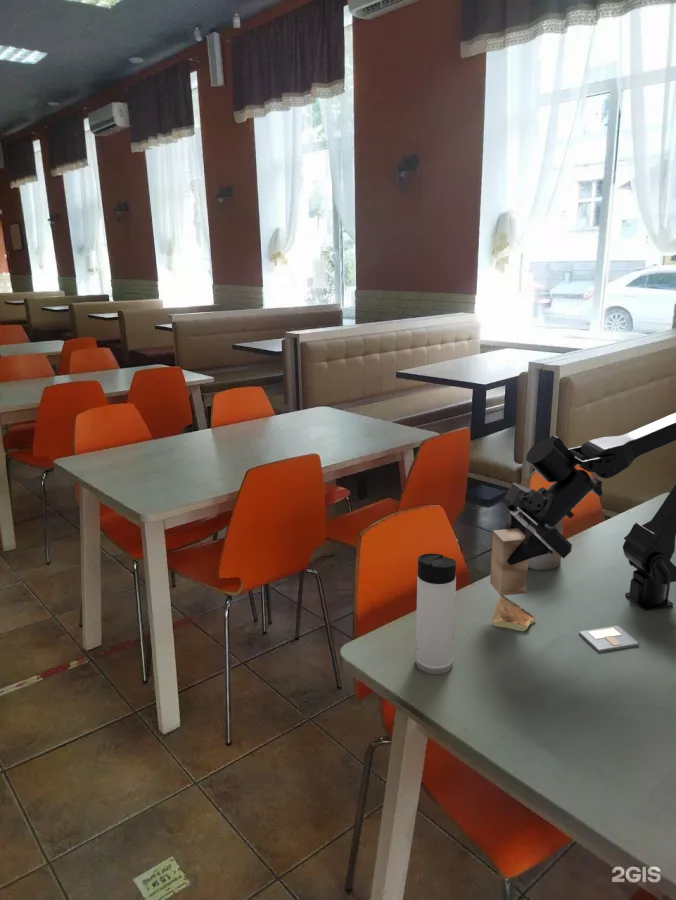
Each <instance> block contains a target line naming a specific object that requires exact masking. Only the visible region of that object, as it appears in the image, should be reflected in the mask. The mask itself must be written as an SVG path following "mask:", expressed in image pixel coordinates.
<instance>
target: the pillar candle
mask: <svg viewBox="0 0 676 900" xmlns="http://www.w3.org/2000/svg"><path fill="white" fill-rule="evenodd" d="M526 528H528V529H529V530H530V531H531V532H532V533H534V532H535V531H536V530H535V529H534V528H533V527H532V526H530V525H528V526H526ZM555 528H556V529H557V530H558V532H559V533H560V534H561V535H562V536H564V535H563V534H564V533H563V532H564V519H563V520H562V521H561V522H560V523H559V524H558V525H557V526H556V527H555ZM551 551H552V552H553V554H550V553H548V554H544V555H540V556H537V557H533V558H530V559H528V569H532V570H535V571H549V570H550V571H551V570H554V569H556V568H558V567H559V566H560V565H561V563H562V560H561V559H562V557H561V556H560V555H559V554H558V553H557V552H556V551H555V550H554V549H552V550H551Z"/></svg>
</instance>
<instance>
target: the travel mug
mask: <svg viewBox="0 0 676 900" xmlns="http://www.w3.org/2000/svg"><path fill="white" fill-rule="evenodd" d="M456 571H457V561H456V560H455V559H453V558H450V557H449V556H448V557H447V556H444V554H439V553H424V554H421V555H419V556H418V557H417V574H416V575H417V576H416V578H417V579H416V581H417V583H416V584H417V585H416V630H415V631H416V633H415V634H416V635H415V636H416V637H415V638H416V639H415V665H416V666H417V668H418V669H420V670H421V671H423V672H424V673H427V674H432V675H442V674H445V673H448V672H449V671H450V670H451V669H452V668H453V663H454V640H455V619H456V618H455V614H456V613H455V612H456V593H457V592H456V590H457V589H456V587H457V586H456V585H457V581H456V580H457V573H456Z"/></svg>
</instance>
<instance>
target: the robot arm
mask: <svg viewBox="0 0 676 900" xmlns="http://www.w3.org/2000/svg"><path fill="white" fill-rule="evenodd" d="M674 442H676V412H674V413H671V414H669V415H667V416H665V417H662V418H660V419H658V420H655V421H653V422H650V423H648V424H646V425H643V426H641V427H639V428H637V429H634V430H631V431H629V432H628V433H627V432H626V433H624V434H621V435H614V436H613V435H612V436H603V437H598V438H594V439H590V440H588V441H585V442H584V443H583V444H582V445H580V446H575V447H569V448H568V447H567V446H566V445H565V444H564V442H563V440H562V439H560V437H558V436H556V435H554V434H552V435H551V436H550V437H549V438H546V439H543V440H540V441H538V442H537V443H534V444H533V446H532V447H531V448H529V450H528V451H527V453H526V458H525V459H526V462H527V463H528V465H530V466H531V467H533V469H534V470H535V471H536V472H537V473H538V474H539V475H540V476H541V477H542V478H543V479H544V480H545V481H546V482H547V483H552V484H551V485H550V486H549V487H548V488H545V487H544V486H542V487H540V488H539V489H538V490H535V489H533V488H532V489H530V488H528V487H525V486H523V485H520V484H518V483H515V482H512V483H511V485H510V487H509V489H508V490H507V493H506V495H505V497H504V499H503V500H502V501H501V503H502V505H503V506H505V508H507V509H508V510H509V511H508V510H507V509H506V510H505V514H506V517H507V519H506V520H507V523H506V525H505V528H504V529H515V528H518V529H519V530H520V531H522V532H523V533H524V534H525V539H524V540H523V541H522V543H521V544H520V545H519V546H518V547H517V549H516V550H515V551H514V552H513V553H512V554H511V556H510V557H509V559H508V560H507V562H508V563H509V564H510V565H513V564H516V563H519V562H522V561H525V560H527V559H530V558H533V557H537V556H540V555H544V554H548V553H550V554H553V552H552V551H551V550H552V549H554V550H555V551H556V552H557V553H558V554H559V555H560V556H561V559H563V560H565V559H566V557H567V556H568V555H570V553H571V552H572V549H573V544H572V543H571V542H570V540H568V539H567V538H566V537H564V535H563V536H562V535H561V534H560V533H559V532H558V530H557V529H556V528H555V527H556V526H557V525H558V524H559V523H560V522H561V521H562V520H563V521H564V519H565V518H566V517H568V518H569V519H572V518H573V517H574V516H575V514H574V513H573V512H572V511H573V510H574V509H575V507H577V505H579V504H580V503H581V502H582V501H583V500H584V499H585V498H586V497H587V496H588V495H589V494H590V493H591V492H592V493H594V494H595V495H597V496H598V497H602V496H603V487H602V485H603V481H602V480H600V479H598V478H597V477H600V478H602V479H605V480H606V479H611V478H614V477H616V476H617V475H619V474H621V473H622V472H624V471H625V470H627V469H628V468H629V467H630V466H631V465H632V463H633V462H634V460H636V459H638V458H639V457H641V456H643V455H645V454H648V453H651V452H653V451H656V450H657V449H660V448H662V447H665V446H667V445H669V444H673V443H674ZM576 466H578V467H579V468H581V469H577V468H576ZM589 473H593V474H594V475H596V476H597V477H592V476H591V475H590V474H589ZM528 525H530V526H532V527H533V528H534V529H535V530H536V531H535V532H534V533H532V532H531V531H530V530H529V529H528V528H526V526H528ZM623 539H624V540H625V541H624V543H623V544H622V550H623V554H624V556H625V558H626V559H627V560H628V563H629V565H630V566H632V567H633V568H634V569H636V570H633V573H632V578H631V579H630V585H629V591H628V592H625V594H624V596H625V597H626V598H627V599H629V600H631V601H632V602H633V603H635V605H637V606H639V607H640V608H642V610H644V611H651V610H658V609H659V610H660V609H665V608H671V607H672V608H673V607H674V603H673V602H672V601H671V600H669V595H670V588H671V584H672V583H675V582H676V565H675V564H674V563H673V562H672V561H671V559H672V557H673V556H674V554H675V552H676V484H675V485H674V486H673V488H672V489H671V491H670V492H669V494H668V495H667V496H666V498H665V499H664V501H663V503H662V504H661V505H660V507H659V508H658V509H657V511H656V513H655V514H654V516H653V517H652V519H651V520H649V521H647V522H646V523H643V524H640V523H639V522H635V523H634V524H632V527H631V529H630V531H629V533H628V534H627V535H625V536H624V537H623Z"/></svg>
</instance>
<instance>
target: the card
mask: <svg viewBox="0 0 676 900" xmlns="http://www.w3.org/2000/svg"><path fill="white" fill-rule="evenodd" d="M578 634H579V636H580V637H582V639H584V640H585V641H586V642H587V643H588V644H589V645H590V646H591V647H592V648H593V649H595V650H596V651H597V653H603V652H604V653H605V652H609V651H613V650H614V651H615V650H621V649H627V648H628V649H629V648H632V647H639V646H640V643H639V642H638V641H637V640H636V639H635V638H634V637H632V636H631V634H629V633H628V632H626V631H625V630H624V629H623V628H622V627H620V626H619V625H613V626H612V625H611V626H607V627H600V628H599V627H598V628H594V629H588V630H581V631H578Z"/></svg>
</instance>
